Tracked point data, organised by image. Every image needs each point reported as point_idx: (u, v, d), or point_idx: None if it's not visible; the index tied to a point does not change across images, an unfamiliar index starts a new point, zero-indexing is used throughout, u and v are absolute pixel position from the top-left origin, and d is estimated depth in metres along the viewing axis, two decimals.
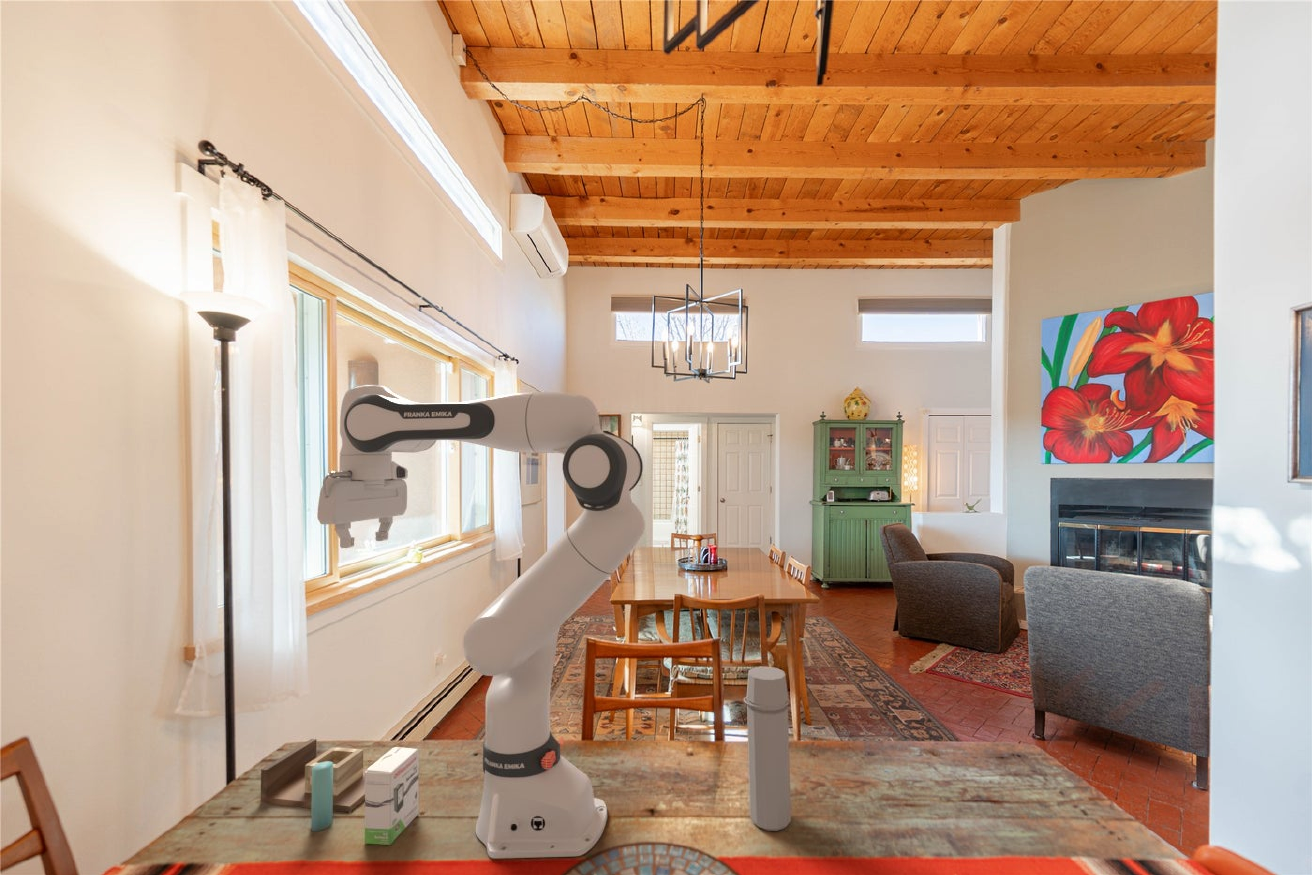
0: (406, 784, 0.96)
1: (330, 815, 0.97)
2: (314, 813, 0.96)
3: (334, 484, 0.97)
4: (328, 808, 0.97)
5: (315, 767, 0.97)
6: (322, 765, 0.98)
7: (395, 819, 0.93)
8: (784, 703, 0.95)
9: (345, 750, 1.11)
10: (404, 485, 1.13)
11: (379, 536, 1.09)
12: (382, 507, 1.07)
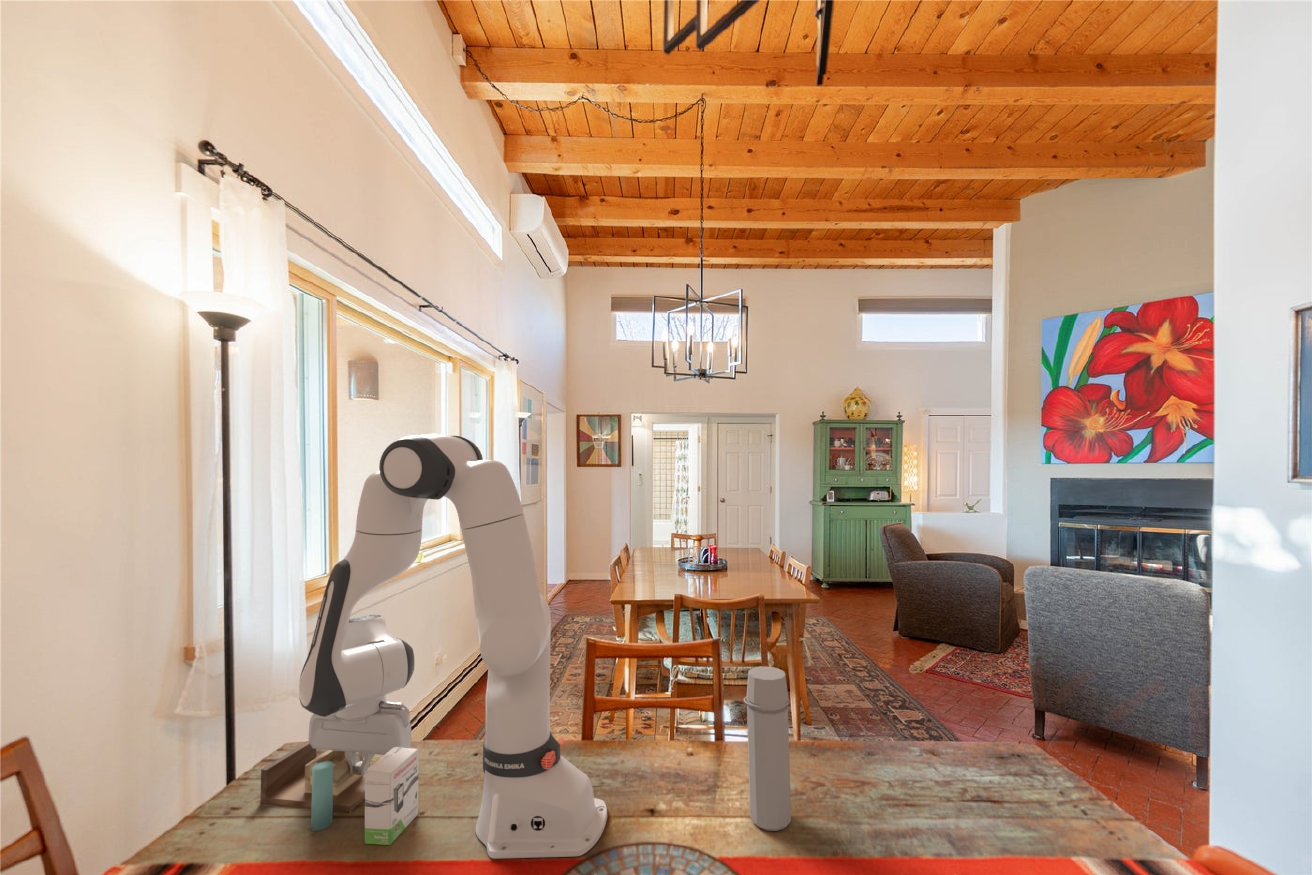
0: (406, 784, 0.96)
1: (330, 815, 0.97)
2: (314, 813, 0.96)
3: None
4: (328, 808, 0.97)
5: (315, 767, 0.97)
6: (322, 765, 0.98)
7: (395, 819, 0.93)
8: (784, 703, 0.95)
9: None
10: None
11: None
12: None
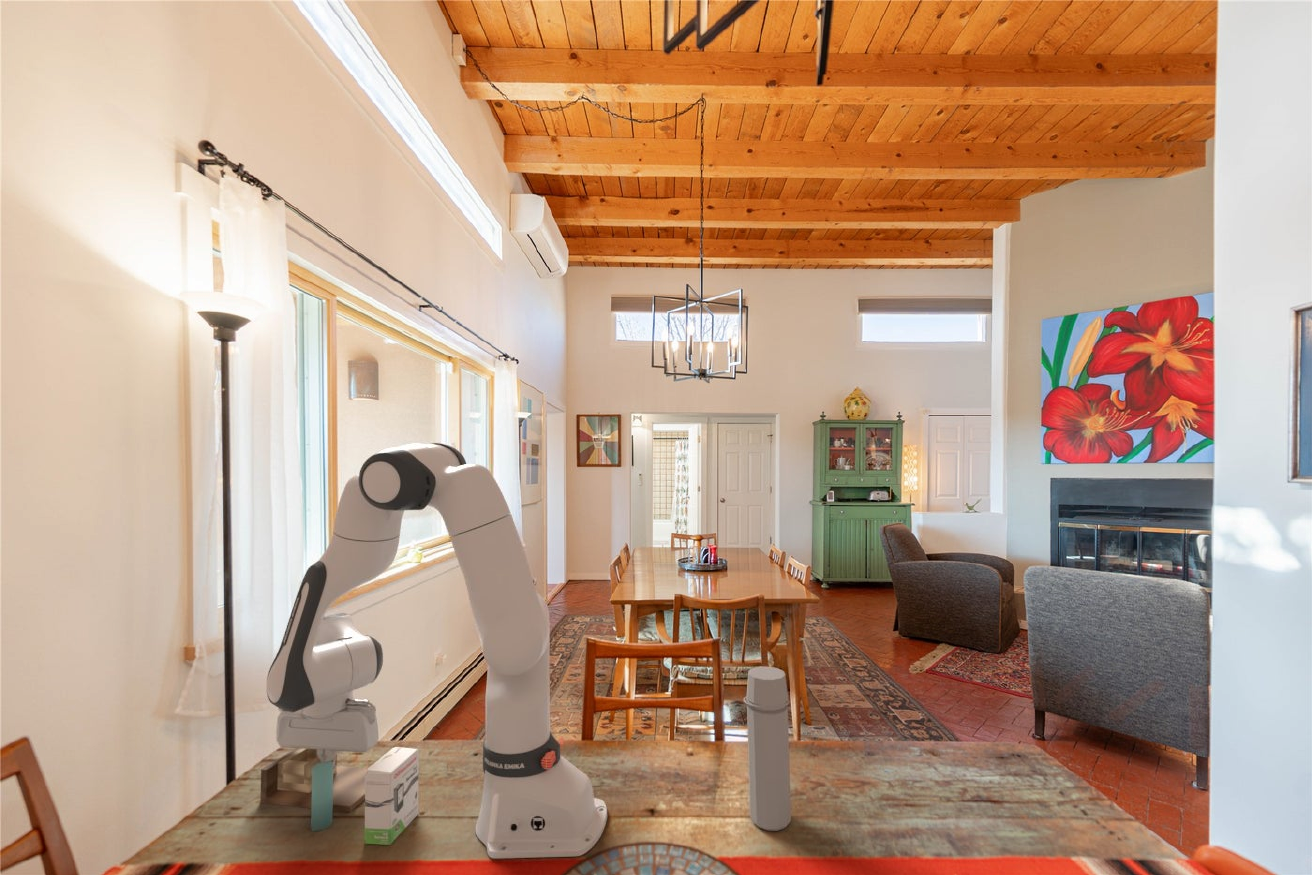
0: (406, 784, 0.96)
1: (330, 815, 0.97)
2: (314, 813, 0.96)
3: None
4: (328, 808, 0.97)
5: (315, 767, 0.97)
6: (322, 765, 0.98)
7: (395, 819, 0.93)
8: (784, 703, 0.95)
9: None
10: None
11: None
12: None
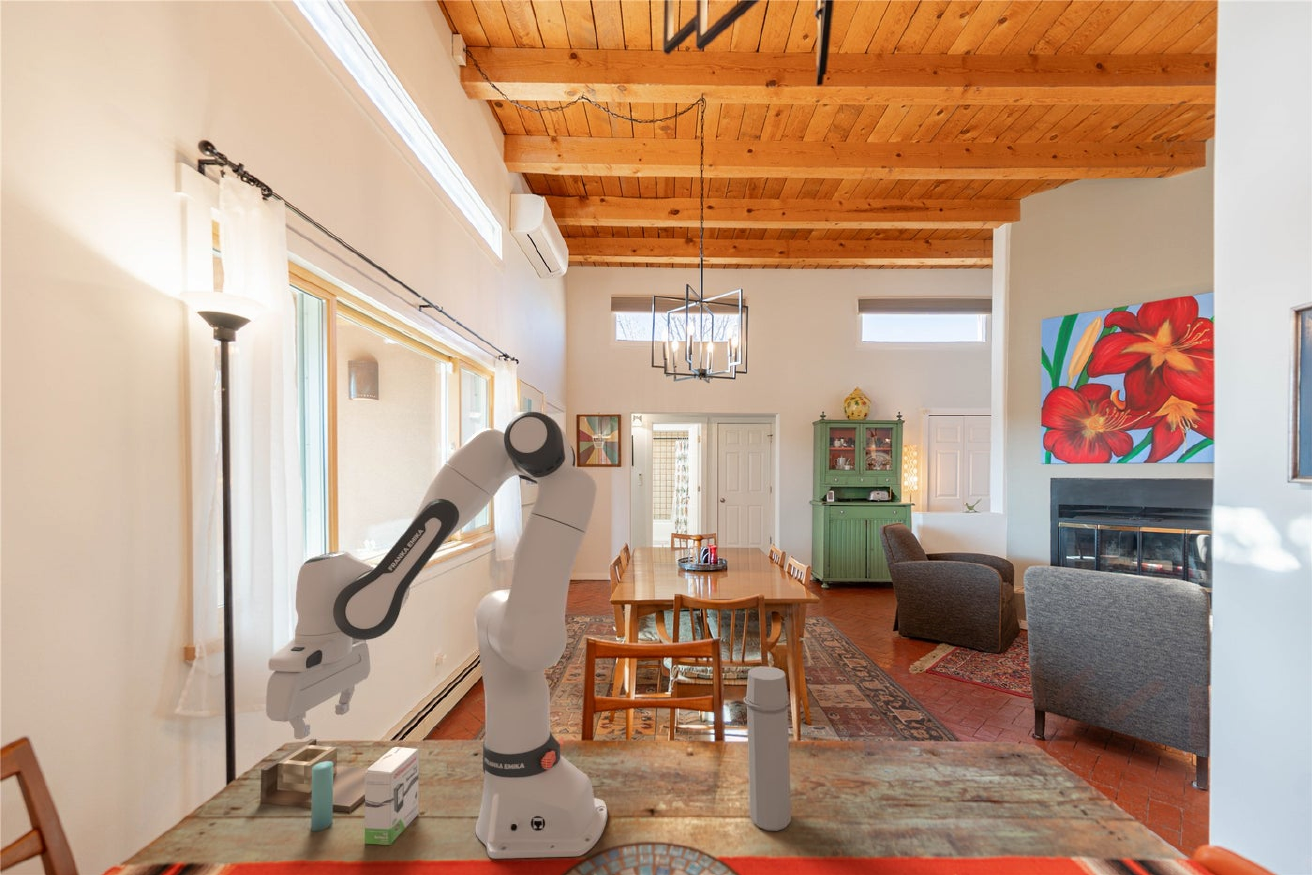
0: (406, 784, 0.96)
1: (329, 815, 0.97)
2: (314, 813, 0.96)
3: None
4: (328, 808, 0.97)
5: (315, 767, 0.97)
6: (322, 765, 0.98)
7: (395, 819, 0.93)
8: (784, 703, 0.95)
9: (319, 748, 1.12)
10: None
11: None
12: None
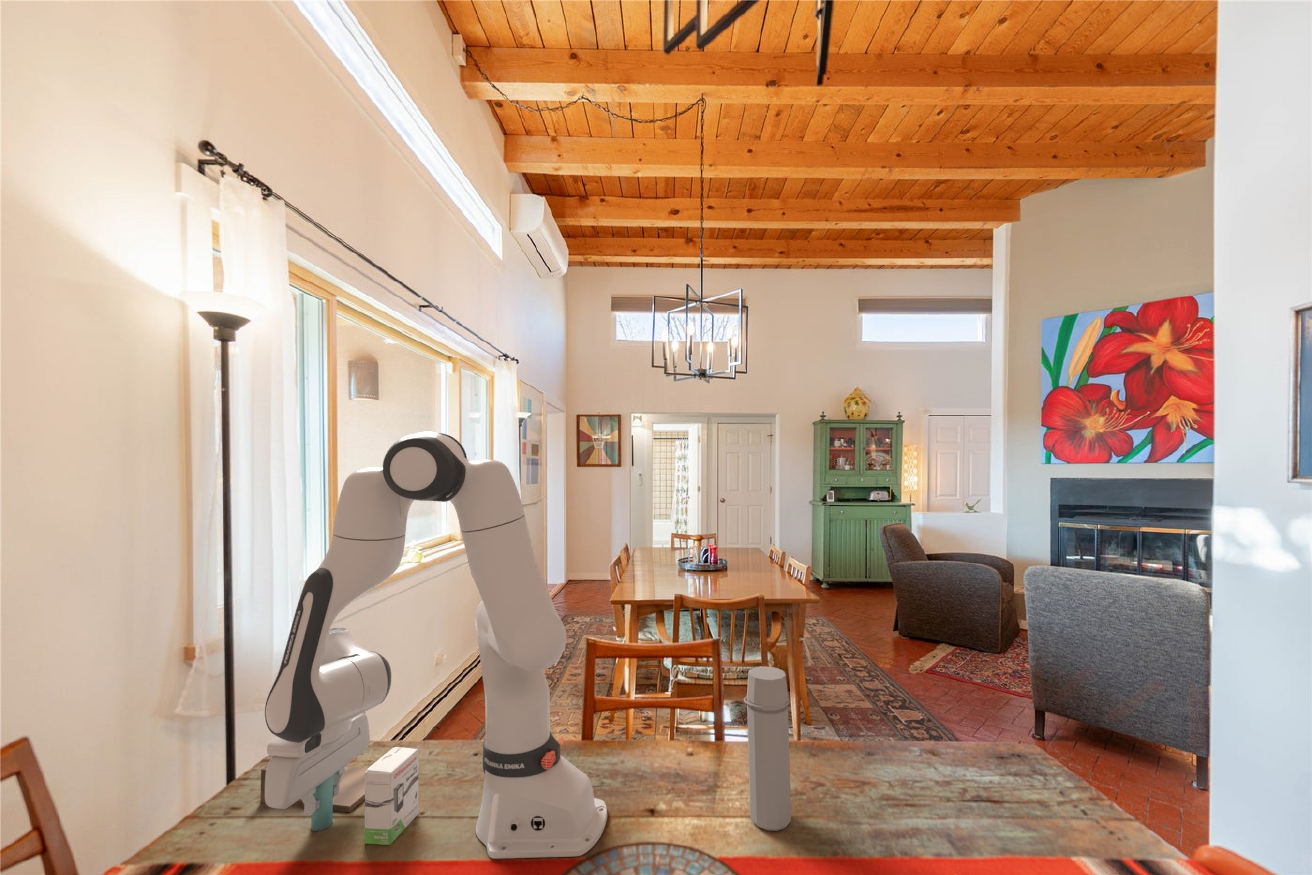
0: (406, 784, 0.96)
1: (330, 814, 0.97)
2: (314, 813, 0.96)
3: None
4: (328, 808, 0.97)
5: None
6: None
7: (395, 819, 0.93)
8: (784, 703, 0.95)
9: None
10: None
11: None
12: None
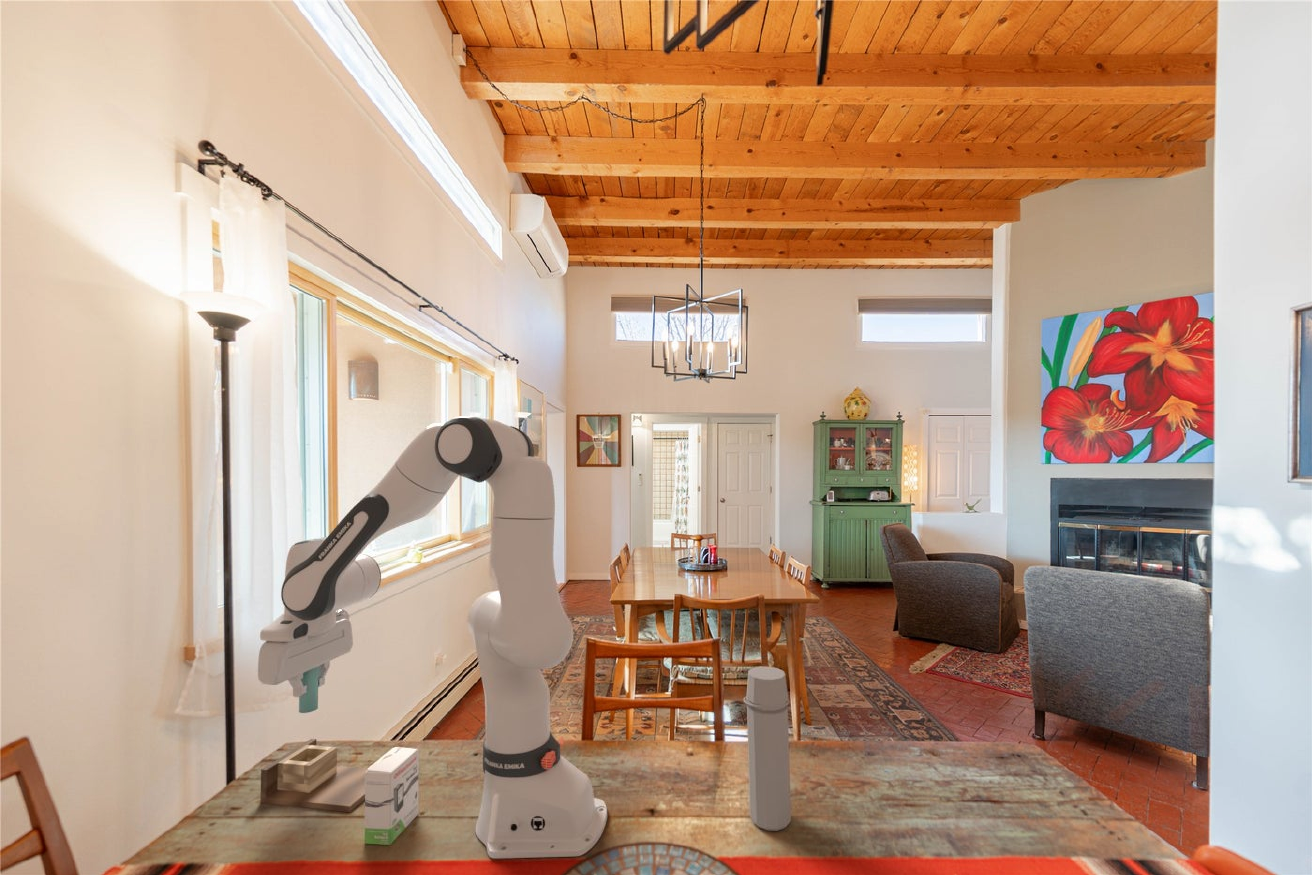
0: (406, 784, 0.96)
1: (315, 700, 1.10)
2: (301, 698, 1.09)
3: None
4: (314, 694, 1.10)
5: None
6: None
7: (395, 819, 0.93)
8: (784, 703, 0.95)
9: (319, 748, 1.12)
10: None
11: None
12: None
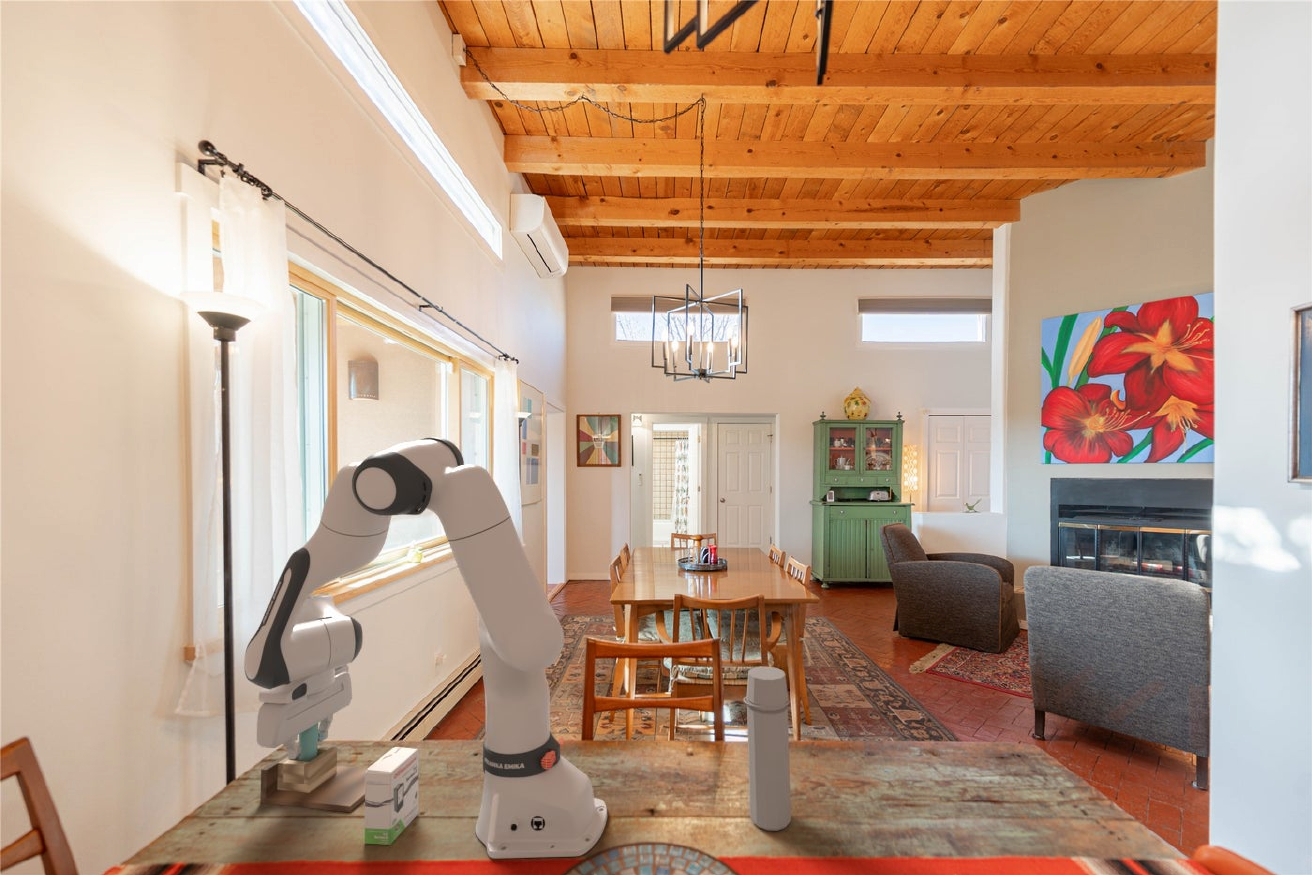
0: (406, 784, 0.96)
1: None
2: None
3: None
4: (313, 757, 1.09)
5: None
6: None
7: (395, 819, 0.93)
8: (784, 703, 0.95)
9: (319, 748, 1.12)
10: None
11: None
12: None
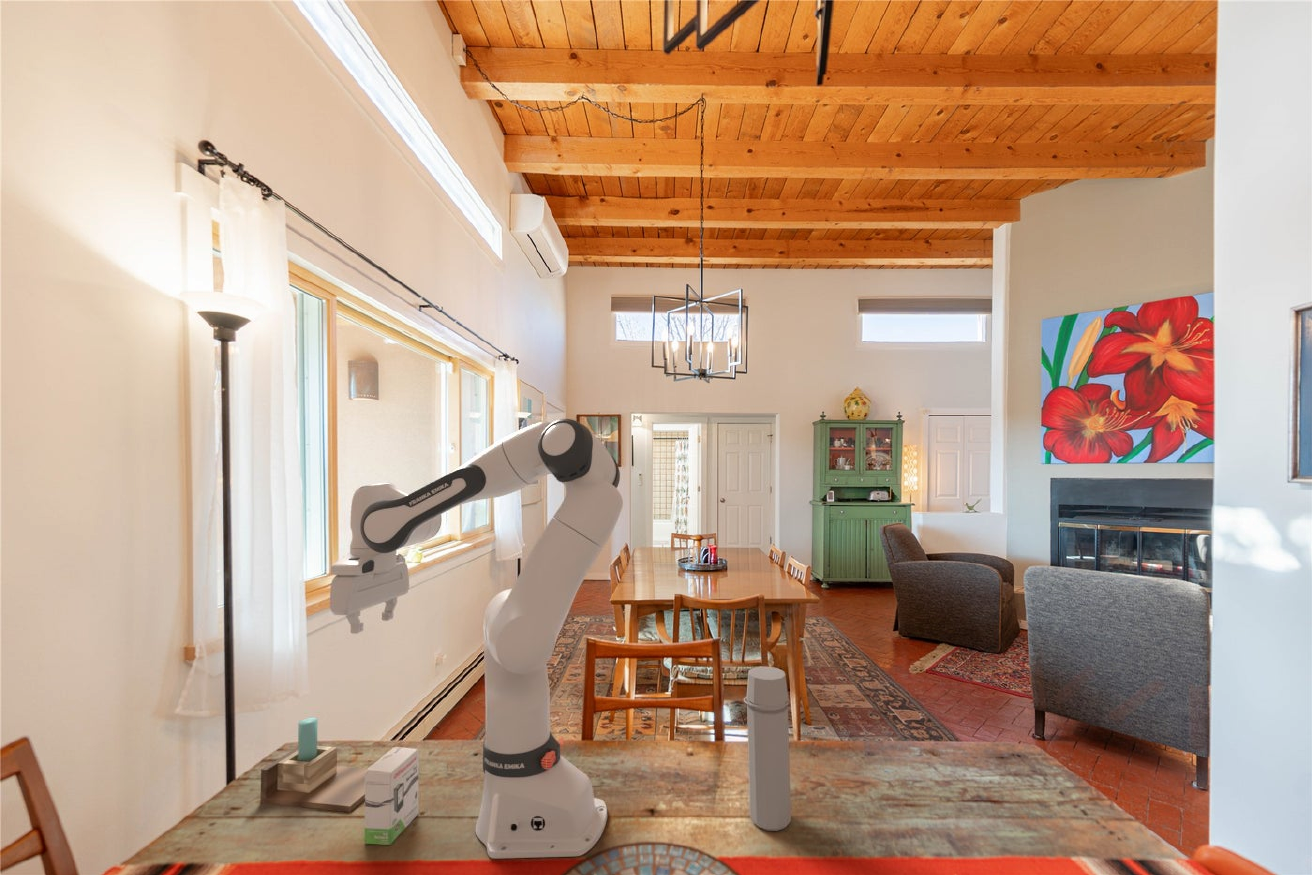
0: (406, 784, 0.96)
1: None
2: None
3: None
4: (313, 758, 1.09)
5: (301, 722, 1.09)
6: (307, 721, 1.10)
7: (395, 819, 0.93)
8: (784, 703, 0.95)
9: (319, 748, 1.12)
10: None
11: None
12: None
